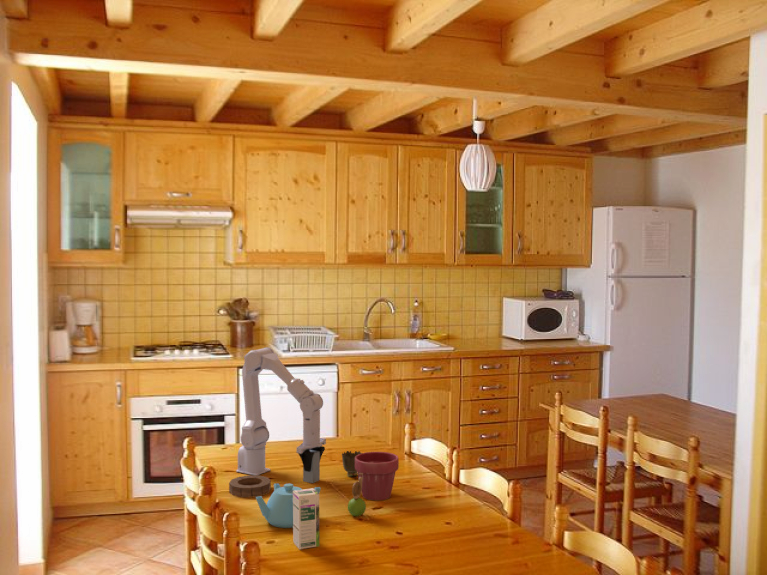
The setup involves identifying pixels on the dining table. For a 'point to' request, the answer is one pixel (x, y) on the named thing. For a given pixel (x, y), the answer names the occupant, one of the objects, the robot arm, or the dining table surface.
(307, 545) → the syrup box
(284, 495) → the teapot
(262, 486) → the walnut ring
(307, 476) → the slate peg
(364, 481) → the plant pot
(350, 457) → the cup
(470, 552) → the dining table surface
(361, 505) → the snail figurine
